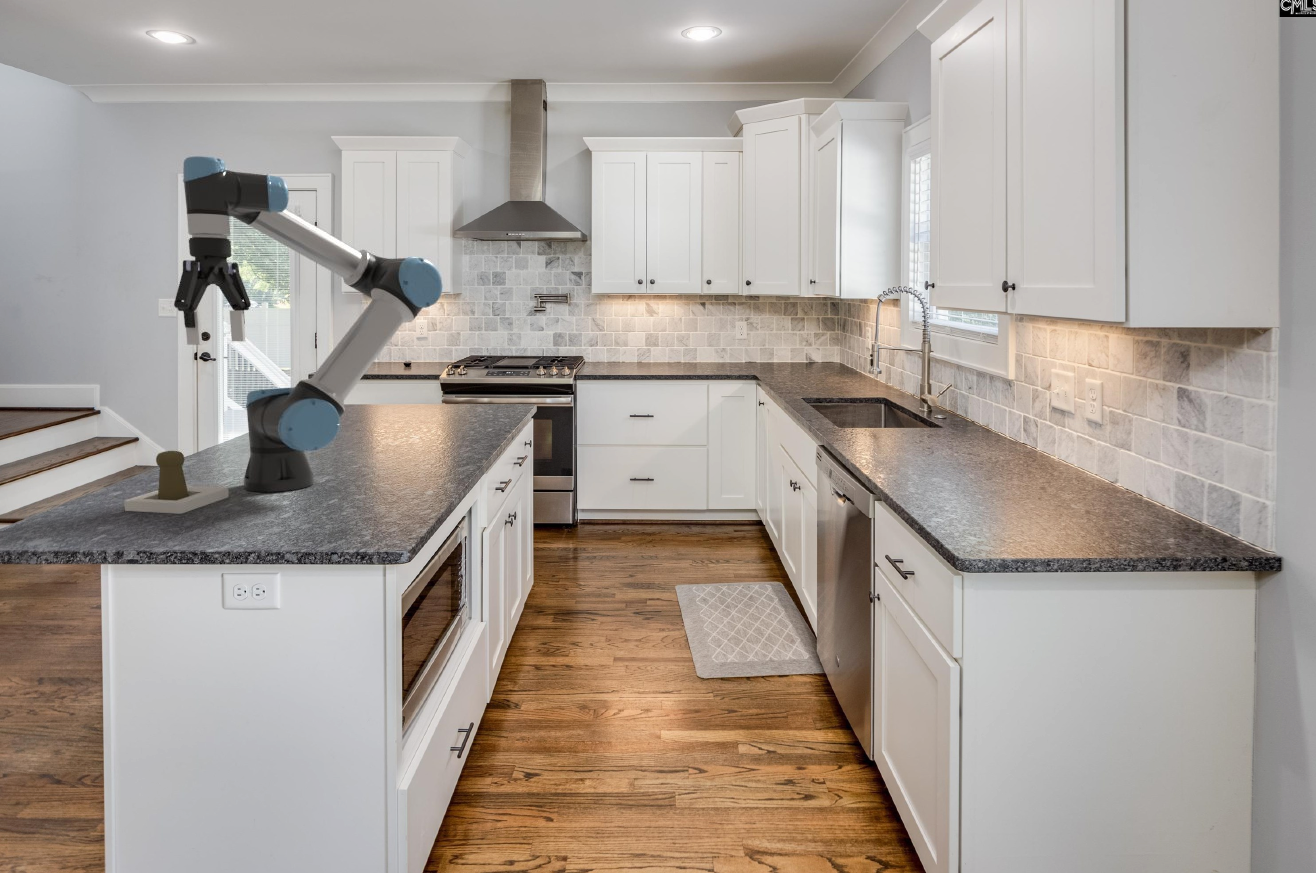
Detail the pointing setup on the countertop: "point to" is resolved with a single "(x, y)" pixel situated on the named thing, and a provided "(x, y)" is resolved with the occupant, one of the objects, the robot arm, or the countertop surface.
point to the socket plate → (195, 500)
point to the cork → (171, 476)
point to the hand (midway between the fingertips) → (217, 343)
